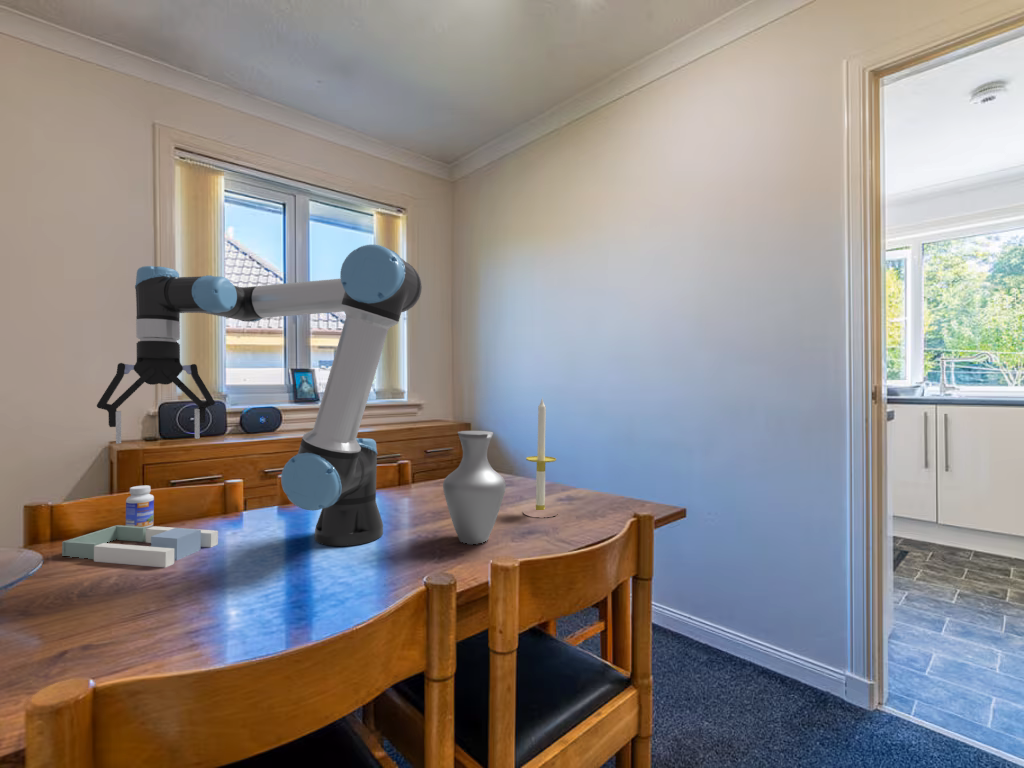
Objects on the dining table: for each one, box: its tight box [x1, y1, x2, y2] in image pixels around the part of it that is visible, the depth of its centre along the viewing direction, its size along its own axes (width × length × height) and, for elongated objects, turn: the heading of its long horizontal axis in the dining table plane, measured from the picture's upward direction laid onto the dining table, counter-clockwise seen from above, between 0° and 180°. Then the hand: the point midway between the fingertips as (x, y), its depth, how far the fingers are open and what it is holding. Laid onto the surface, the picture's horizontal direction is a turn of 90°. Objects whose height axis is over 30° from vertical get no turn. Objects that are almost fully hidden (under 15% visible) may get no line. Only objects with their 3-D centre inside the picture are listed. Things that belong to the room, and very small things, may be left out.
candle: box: [525, 396, 557, 510], centre depth 137 cm, size 10×10×32 cm
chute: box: [93, 525, 219, 569], centre depth 102 cm, size 16×14×3 cm
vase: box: [442, 430, 507, 545], centre depth 113 cm, size 14×14×25 cm
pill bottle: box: [125, 484, 155, 529], centre depth 119 cm, size 5×5×10 cm
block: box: [150, 527, 202, 561], centre depth 101 cm, size 6×6×4 cm
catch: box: [61, 524, 147, 560], centre depth 104 cm, size 8×12×3 cm, turn 171°
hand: (159, 440), depth 105 cm, fingers open, 13 cm apart
